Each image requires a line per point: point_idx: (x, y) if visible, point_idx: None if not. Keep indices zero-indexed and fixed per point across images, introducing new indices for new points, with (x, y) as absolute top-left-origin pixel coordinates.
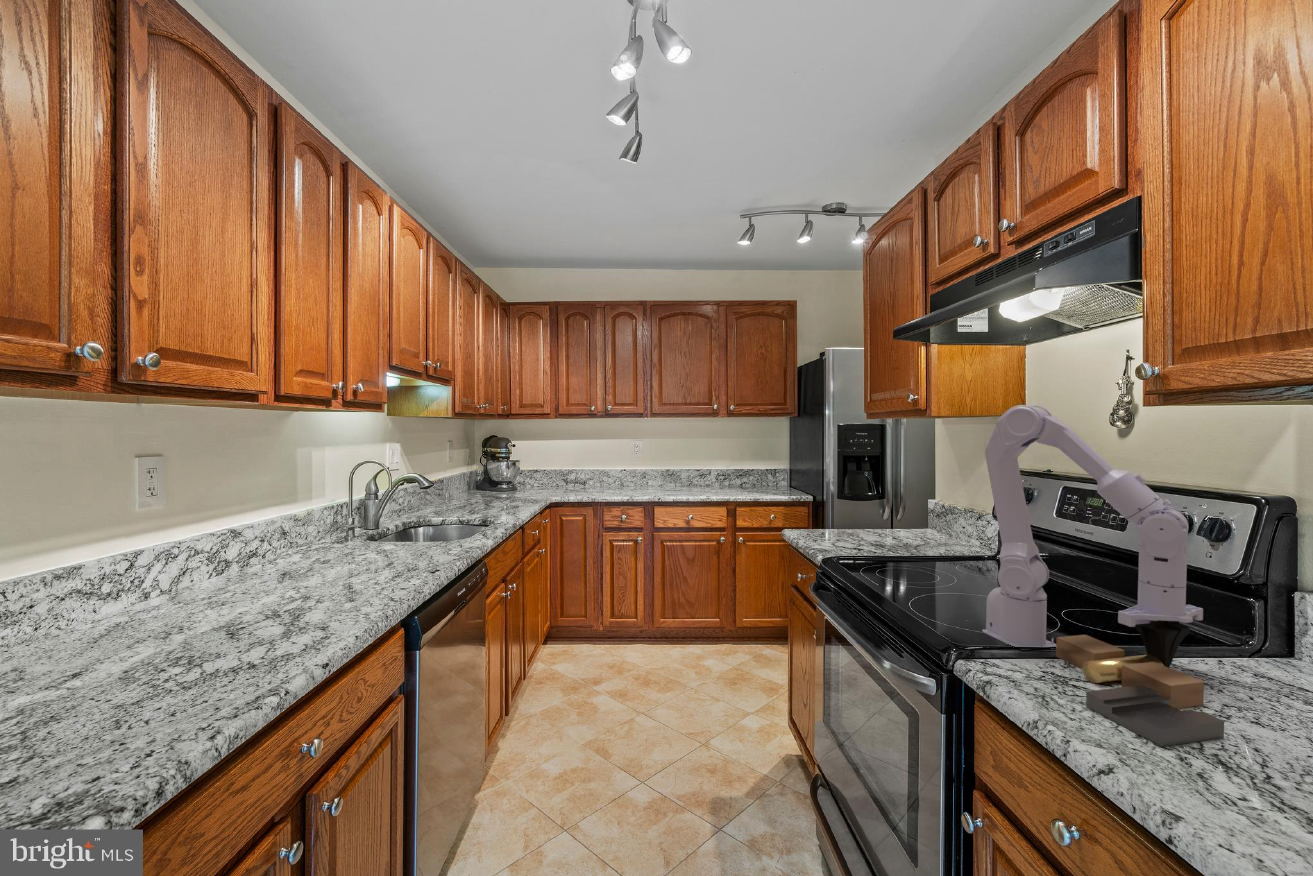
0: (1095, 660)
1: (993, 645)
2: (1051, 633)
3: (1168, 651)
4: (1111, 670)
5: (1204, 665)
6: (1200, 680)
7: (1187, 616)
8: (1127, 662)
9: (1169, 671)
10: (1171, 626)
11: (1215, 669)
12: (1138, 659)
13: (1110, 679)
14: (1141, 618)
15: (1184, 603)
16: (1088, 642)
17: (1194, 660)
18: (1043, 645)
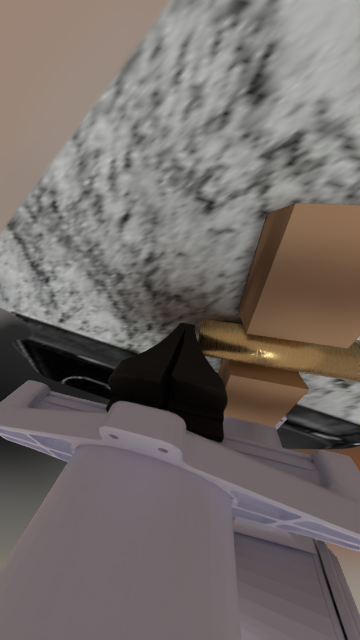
0: (347, 377)
1: (292, 429)
2: None
3: (187, 341)
4: (343, 348)
5: (92, 320)
6: (291, 216)
7: (113, 441)
8: (285, 352)
9: (287, 290)
10: (161, 398)
11: (87, 308)
12: (247, 350)
13: None
14: (329, 497)
15: (41, 594)
16: (249, 405)
17: (92, 331)
18: None
